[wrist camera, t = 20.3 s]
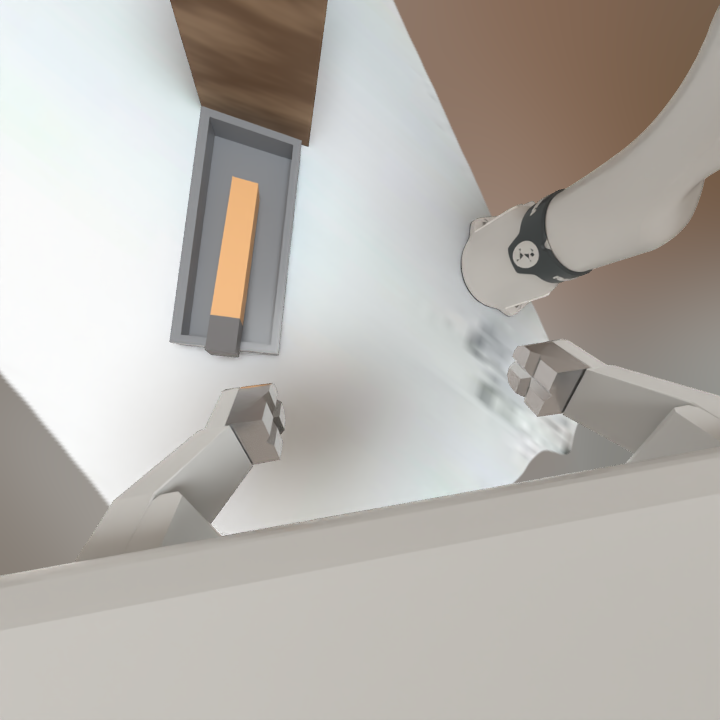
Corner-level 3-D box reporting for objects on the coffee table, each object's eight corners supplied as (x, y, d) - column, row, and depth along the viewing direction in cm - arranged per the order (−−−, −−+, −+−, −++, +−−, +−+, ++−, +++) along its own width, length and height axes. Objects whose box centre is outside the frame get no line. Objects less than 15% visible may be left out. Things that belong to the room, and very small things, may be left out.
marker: (238, 357, 32) (235, 352, 29) (211, 354, 31) (204, 349, 28) (259, 200, 36) (258, 183, 33) (235, 194, 35) (232, 176, 32)
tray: (278, 354, 37) (278, 353, 33) (180, 344, 33) (169, 342, 30) (299, 160, 38) (301, 140, 35) (208, 130, 35) (201, 105, 32)
